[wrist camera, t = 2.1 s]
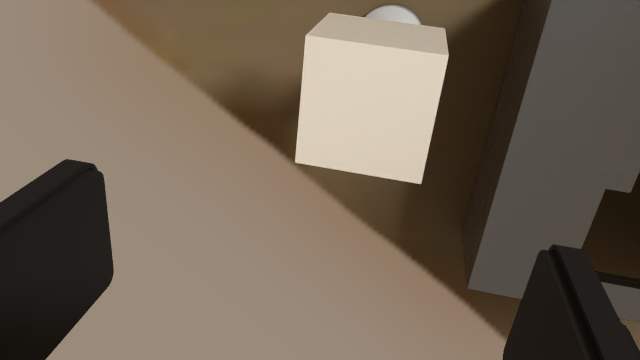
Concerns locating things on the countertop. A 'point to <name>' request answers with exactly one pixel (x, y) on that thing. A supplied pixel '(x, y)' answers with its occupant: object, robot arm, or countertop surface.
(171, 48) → the countertop surface
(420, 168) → the peg
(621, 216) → the countertop surface
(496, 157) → the slotted grey box
